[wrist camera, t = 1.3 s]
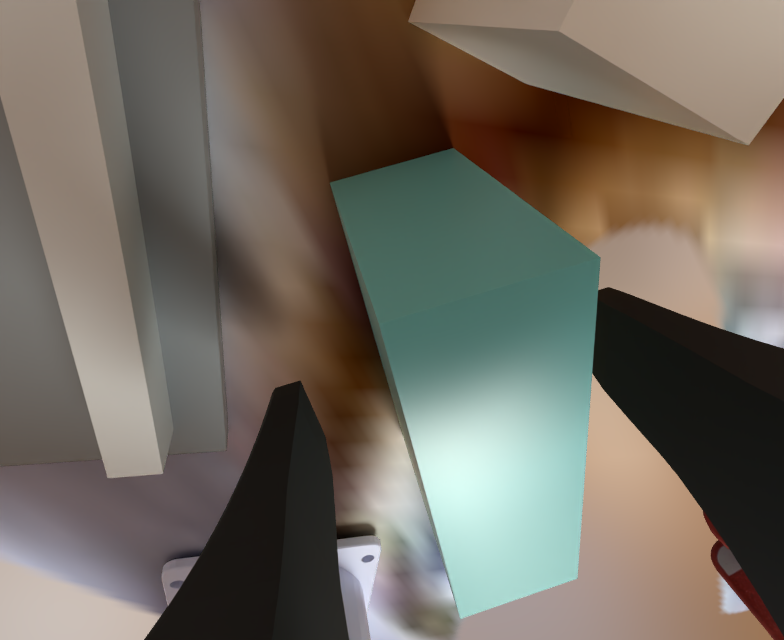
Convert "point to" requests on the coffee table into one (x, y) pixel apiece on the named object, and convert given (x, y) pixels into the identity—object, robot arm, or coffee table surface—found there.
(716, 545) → the toy fire truck
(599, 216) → the coffee table surface
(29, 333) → the ribbed slotted plate
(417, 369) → the teal rectangular block
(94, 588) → the coffee table surface
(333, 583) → the robot arm
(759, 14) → the beige rectangular block
